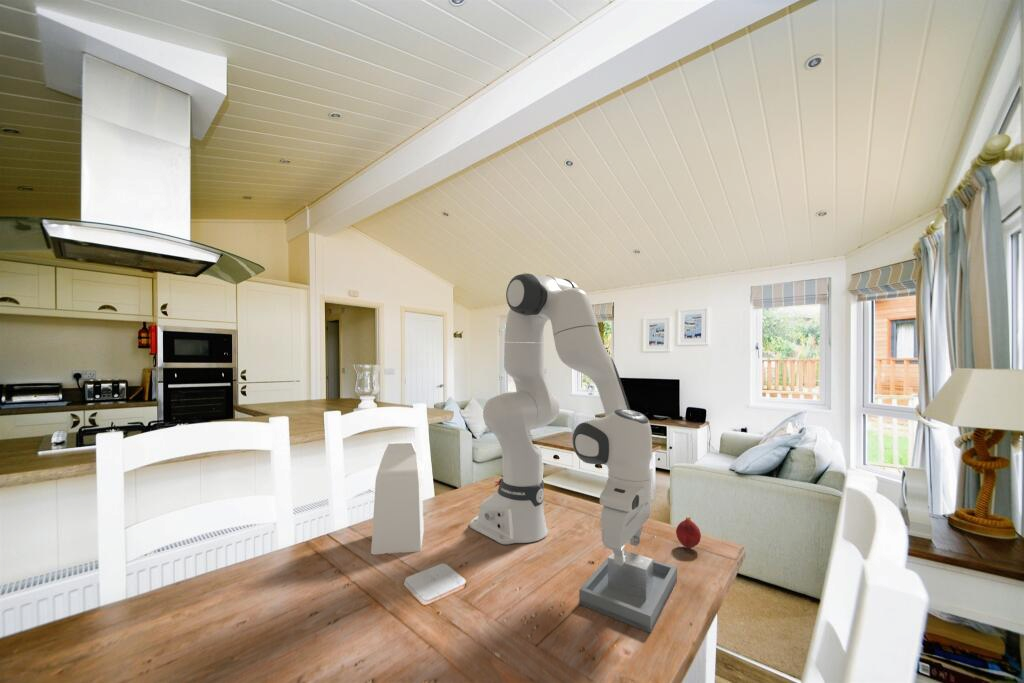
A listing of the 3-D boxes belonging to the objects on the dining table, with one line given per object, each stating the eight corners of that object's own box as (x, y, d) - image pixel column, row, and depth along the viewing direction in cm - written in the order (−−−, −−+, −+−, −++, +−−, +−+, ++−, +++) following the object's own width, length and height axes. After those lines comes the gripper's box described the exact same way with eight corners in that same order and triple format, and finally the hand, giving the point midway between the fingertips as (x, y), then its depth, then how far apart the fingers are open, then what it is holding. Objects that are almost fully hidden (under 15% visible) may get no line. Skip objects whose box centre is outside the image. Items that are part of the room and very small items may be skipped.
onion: (703, 555, 99) (703, 522, 99) (678, 552, 100) (678, 520, 100) (697, 544, 105) (697, 513, 105) (674, 542, 106) (674, 511, 106)
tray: (579, 604, 79) (579, 589, 80) (615, 561, 96) (615, 548, 96) (650, 633, 71) (650, 616, 72) (676, 580, 88) (676, 567, 88)
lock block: (607, 586, 84) (607, 557, 84) (616, 575, 88) (616, 548, 88) (646, 600, 79) (646, 569, 79) (653, 588, 83) (653, 559, 84)
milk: (371, 554, 98) (372, 448, 99) (379, 533, 110) (380, 438, 110) (420, 551, 100) (422, 447, 101) (423, 530, 112) (424, 437, 112)
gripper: (630, 472, 95) (629, 530, 95) (596, 498, 78) (594, 569, 78) (658, 478, 91) (656, 538, 91) (627, 507, 74) (626, 581, 74)
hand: (627, 553), depth 84 cm, fingers open, 8 cm apart
